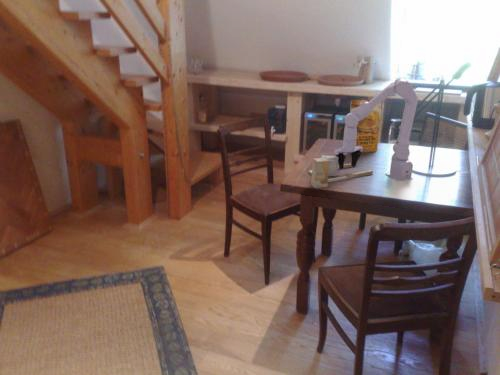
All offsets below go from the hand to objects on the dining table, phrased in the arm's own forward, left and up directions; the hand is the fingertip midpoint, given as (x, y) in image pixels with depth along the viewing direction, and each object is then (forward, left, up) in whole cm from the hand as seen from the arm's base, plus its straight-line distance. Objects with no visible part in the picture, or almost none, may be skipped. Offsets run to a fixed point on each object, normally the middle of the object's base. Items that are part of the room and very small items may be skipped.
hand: (347, 167), depth 207 cm
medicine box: (+1, +10, -3) cm, 10 cm away
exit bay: (0, +11, -3) cm, 11 cm away
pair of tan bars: (0, -3, -3) cm, 4 cm away
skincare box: (-9, +21, -3) cm, 23 cm away
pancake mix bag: (+25, -28, -3) cm, 38 cm away
